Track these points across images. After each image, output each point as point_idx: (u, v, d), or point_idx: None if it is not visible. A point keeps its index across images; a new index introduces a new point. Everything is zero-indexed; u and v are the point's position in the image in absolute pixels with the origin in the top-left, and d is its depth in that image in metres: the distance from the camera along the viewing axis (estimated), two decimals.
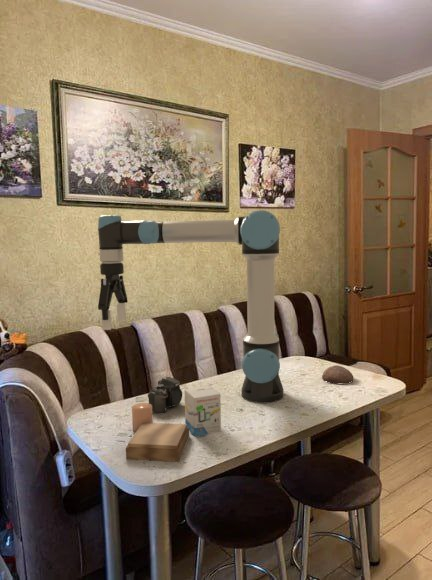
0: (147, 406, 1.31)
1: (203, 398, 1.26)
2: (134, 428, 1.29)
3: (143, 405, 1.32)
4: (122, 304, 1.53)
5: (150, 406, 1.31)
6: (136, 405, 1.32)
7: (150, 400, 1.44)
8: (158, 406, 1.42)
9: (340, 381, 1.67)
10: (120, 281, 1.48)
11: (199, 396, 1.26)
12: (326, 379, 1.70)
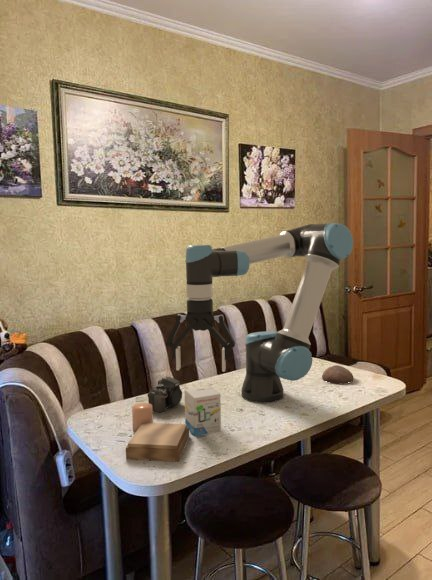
0: (147, 406, 1.31)
1: (203, 398, 1.26)
2: (134, 428, 1.29)
3: (143, 405, 1.32)
4: (222, 350, 1.27)
5: (150, 406, 1.31)
6: (136, 405, 1.32)
7: (150, 400, 1.44)
8: (157, 405, 1.42)
9: (340, 381, 1.67)
10: (206, 322, 1.25)
11: (199, 396, 1.26)
12: (326, 379, 1.70)
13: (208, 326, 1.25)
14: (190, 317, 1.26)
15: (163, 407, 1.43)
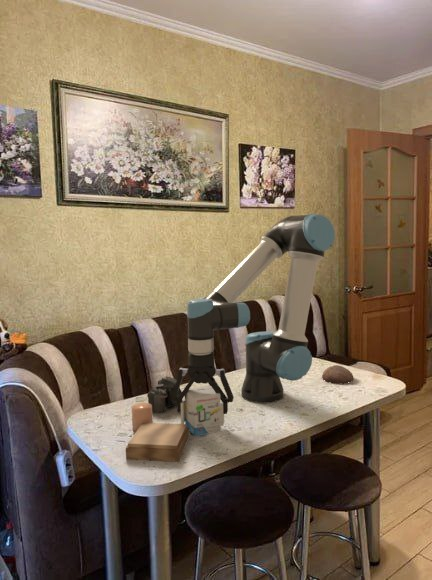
0: (147, 406, 1.31)
1: (203, 398, 1.26)
2: (134, 428, 1.29)
3: (143, 405, 1.32)
4: None
5: (150, 406, 1.31)
6: (136, 405, 1.31)
7: (150, 400, 1.44)
8: (157, 405, 1.43)
9: (340, 381, 1.68)
10: (207, 376, 1.27)
11: (199, 396, 1.26)
12: (326, 379, 1.70)
13: (209, 380, 1.27)
14: (192, 370, 1.28)
15: (163, 407, 1.43)
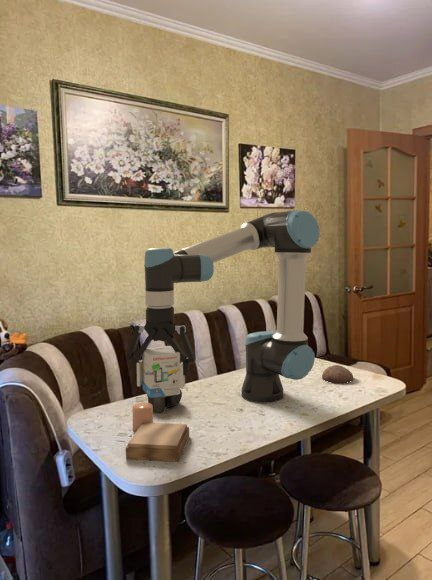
0: (148, 406, 1.31)
1: (160, 356, 1.14)
2: (135, 428, 1.29)
3: (144, 405, 1.32)
4: None
5: (151, 406, 1.31)
6: (136, 405, 1.31)
7: (149, 399, 1.44)
8: (157, 405, 1.43)
9: (340, 381, 1.68)
10: (166, 332, 1.15)
11: (156, 354, 1.14)
12: (326, 379, 1.71)
13: (167, 337, 1.15)
14: (149, 326, 1.16)
15: (162, 407, 1.43)
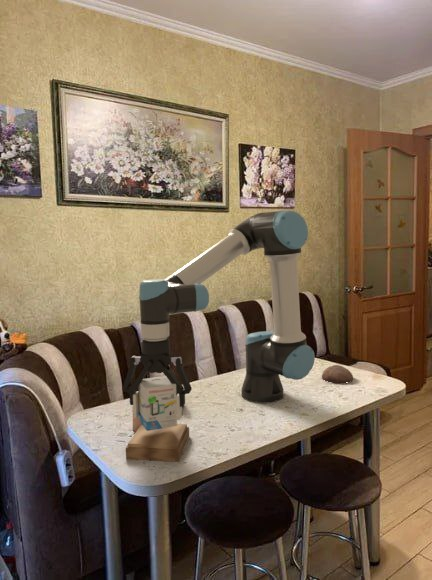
0: None
1: (156, 389, 1.13)
2: (135, 428, 1.29)
3: None
4: None
5: None
6: None
7: None
8: None
9: (340, 380, 1.68)
10: (162, 364, 1.15)
11: (152, 387, 1.13)
12: (326, 379, 1.71)
13: (163, 369, 1.15)
14: (145, 358, 1.16)
15: None
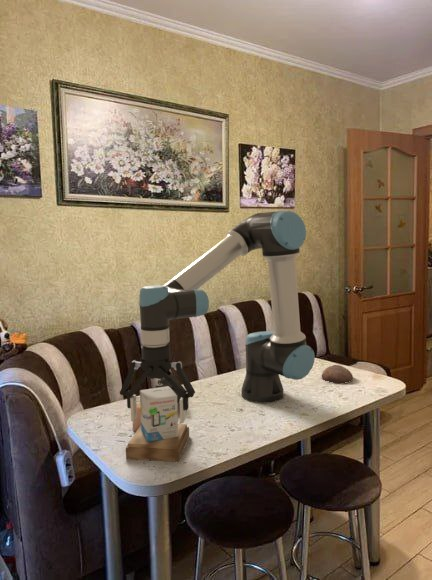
0: None
1: (157, 400, 1.14)
2: (136, 428, 1.29)
3: None
4: None
5: None
6: (136, 405, 1.31)
7: None
8: None
9: (339, 380, 1.68)
10: (162, 370, 1.15)
11: (153, 398, 1.14)
12: (326, 378, 1.71)
13: (164, 374, 1.15)
14: (145, 364, 1.16)
15: None
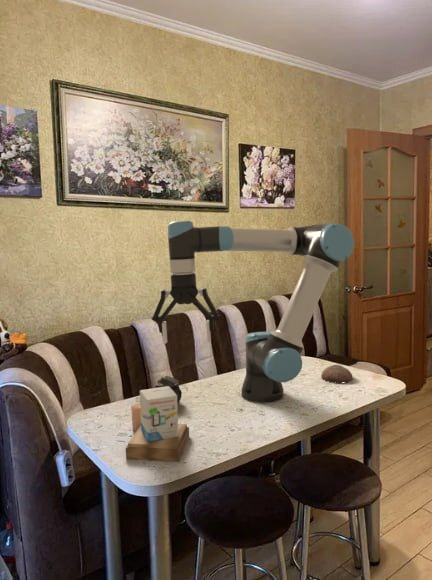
0: None
1: (157, 400, 1.14)
2: (136, 428, 1.29)
3: None
4: (206, 322, 1.32)
5: None
6: (134, 406, 1.31)
7: None
8: None
9: (339, 380, 1.68)
10: (190, 295, 1.30)
11: (153, 398, 1.14)
12: (325, 378, 1.71)
13: (192, 299, 1.30)
14: (174, 292, 1.31)
15: None
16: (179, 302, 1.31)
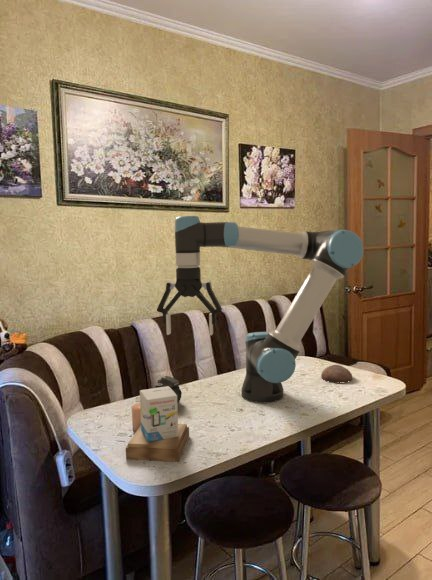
0: None
1: (157, 400, 1.14)
2: (137, 429, 1.29)
3: None
4: (209, 315, 1.35)
5: None
6: (135, 406, 1.31)
7: None
8: None
9: (339, 380, 1.68)
10: (194, 288, 1.34)
11: (153, 398, 1.14)
12: (325, 378, 1.71)
13: (196, 292, 1.34)
14: (179, 284, 1.35)
15: None
16: (183, 294, 1.35)
